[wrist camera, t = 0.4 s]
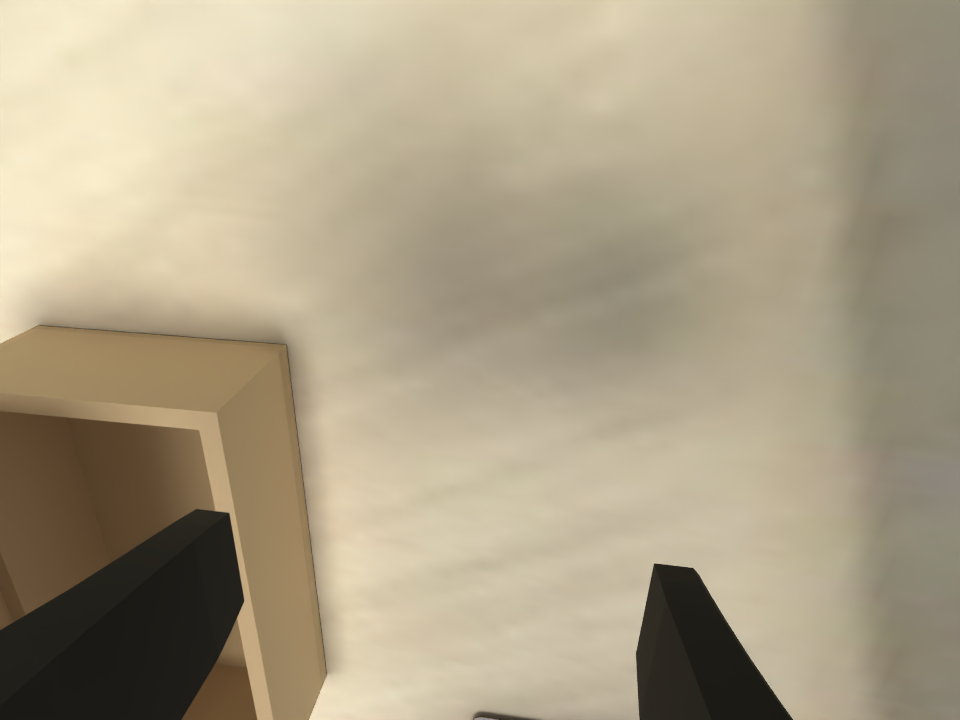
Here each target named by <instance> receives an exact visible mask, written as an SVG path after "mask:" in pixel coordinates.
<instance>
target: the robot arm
mask: <svg viewBox="0 0 960 720" xmlns="http://www.w3.org/2000/svg"><path fill="white" fill-rule="evenodd" d="M243 603H244V595H243V589H242V583H241V577H240V571H239V566H238V560H237V554H236V548H235V542H234V536H233V531H232V525H231V519H230V513H227V512H218V511H210V510H201V509H195V510H194V511H192V512H190V513H189V514H187V515H185V516H184V517H182V518H180V519H179V520H177V521H175V522H174V523H172V524H171V525H169V526H167V527H166V528H164V529H163V530H161V531H160V532H158V533H156V534H155V535H153V536H152V537H150V538H149V539H147V540H146V541H144V542H143V543H141V544H139V545H138V546H136V547H135V548H133V549H132V550H130V551H129V552H127V553H126V554H124V555H122V556H121V557H119V558H118V559H116V560H115V561H113V562H111V563H110V564H108V565H107V566H105V567H104V568H102V569H100V570H99V571H97V572H96V573H94V574H93V575H91V576H89V577H88V578H86V579H85V580H83V581H81V582H80V583H78V584H77V585H75V586H74V587H72V588H70V589H69V590H67V591H65V592H64V593H62V594H60V595H59V596H57V597H55V598H54V599H52V600H50V601H48V602H47V603H45V604H43V605H42V606H40V607H38V608H37V609H35V610H33V611H32V612H30V613H28V614H26V615H25V616H23V617H21V618H20V619H18V620H16V621H15V622H13V623H11V624H10V625H8V626H6V627H5V628H3V629H1V630H0V720H182V718H183V716H184V715H185V713H186V711H187V710H188V708H189V707H190V705H191V703H192V702H193V700H194V698H195V697H196V695H197V693H198V692H199V690H200V688H201V687H202V685H203V683H204V682H205V680H206V678H207V677H208V675H209V673H210V672H211V670H212V668H213V667H214V665H215V663H216V662H217V660H218V658H219V656H220V654H221V652H222V650H223V648H224V645H225V643H226V641H227V639H228V637H229V635H230V633H231V631H232V628H233V626H234V624H235V622H236V619H237V617H238V615H239V612H240V610H241V608H242V606H243ZM636 661H637V682H638V700H639V717H640V720H793V719H792V718H791V716H790V715H789V713H788V712H787V711H786V709H785V708H784V707H783V705H782V704H781V702H780V701H779V700H778V698H777V697H776V695H775V694H774V692H773V691H772V689H771V688H770V686H769V685H768V683H767V682H766V681H765V679H764V678H763V676H762V675H761V673H760V672H759V670H758V669H757V667H756V666H755V665H754V663H753V662H752V660H751V659H750V657H749V656H748V654H747V652H746V651H745V649H744V648H743V646H742V645H741V643H740V642H739V640H738V639H737V637H736V635H735V634H734V632H733V631H732V629H731V627H730V626H729V624H728V623H727V621H726V620H725V618H724V616H723V615H722V613H721V611H720V610H719V608H718V606H717V605H716V603H715V601H714V600H713V598H712V596H711V595H710V593H709V591H708V590H707V588H706V586H705V585H704V583H703V581H702V579H701V578H700V576H699V574H698V573H697V572H696V571H695V570H694V568H688V567H680V566H671V565H663V564H655V563H654V567H653V572H652V577H651V582H650V587H649V592H648V597H647V602H646V607H645V612H644V617H643V622H642V627H641V632H640V637H639V642H638V647H637V652H636ZM474 720H497V719H490V718H483V717H478V718H475V719H474Z"/></svg>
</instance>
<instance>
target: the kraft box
mask: <svg viewBox="0 0 960 720" xmlns="http://www.w3.org/2000/svg"><path fill="white" fill-rule="evenodd" d="M195 509H201V510H210V511H218V512H227V513H230V519H231V525H232V531H233V536H234V542H235V548H236V554H237V560H238V566H239V571H240V577H241V583H242V589H243V595H244V603H243V606H242V608H241V610H240V612H239V615H238V617H237V619H236V622H235V624H234V626H233V628H232V631H231V633H230V635H229V637H228V639H227V641H226V643H225V645H224V648H223V650H222V652H221V654H220V656H219V658H218V660H217V662H216V663H215V665H214V667H213V668H212V670H211V672H210V673H209V675H208V677H207V678H206V680H205V682H204V683H203V685H202V687H201V688H200V690H199V692H198V693H197V695H196V697H195V698H194V700H193V702H192V703H191V705H190V707H189V708H188V710H187V711H186V713H185V715H184V716H183V718H182V720H309V718H310V716H311V713H312V711H313V708H314V706H315V703H316V701H317V698H318V696H319V693H320V691H321V688H322V686H323V683H324V681H325V678H326V676H327V674H326V666H325V658H324V650H323V641H322V633H321V625H320V617H319V609H318V601H317V592H316V584H315V576H314V568H313V560H312V552H311V543H310V535H309V527H308V519H307V511H306V503H305V494H304V486H303V478H302V470H301V462H300V454H299V445H298V437H297V429H296V421H295V413H294V405H293V396H292V388H291V380H290V372H289V364H288V356H287V347H286V345H282V344H270V343H257V342H244V341H231V340H218V339H205V338H192V337H179V336H166V335H153V334H141V333H128V332H115V331H102V330H89V329H76V328H63V327H50V326H36V327H34V328H32V329H30V330H28V331H26V332H24V333H21V334H19V335H17V336H15V337H13V338H11V339H9V340H7V341H5V342H3V343H1V344H0V591H1V593H2V595H3V598H4V600H5V603H6V605H7V607H8V610H9V612H10V615H11V617H12V619H13V622H15V621H16V620H18V619H20V618H21V617H23V616H25V615H26V614H28V613H30V612H32V611H33V610H35V609H37V608H38V607H40V606H42V605H43V604H45V603H47V602H48V601H50V600H52V599H54V598H55V597H57V596H59V595H60V594H62V593H64V592H65V591H67V590H69V589H70V588H72V587H74V586H75V585H77V584H78V583H80V582H81V581H83V580H85V579H86V578H88V577H89V576H91V575H93V574H94V573H96V572H97V571H99V570H100V569H102V568H104V567H105V566H107V565H108V564H110V563H111V562H113V561H115V560H116V559H118V558H119V557H121V556H122V555H124V554H126V553H127V552H129V551H130V550H132V549H133V548H135V547H136V546H138V545H139V544H141V543H143V542H144V541H146V540H147V539H149V538H150V537H152V536H153V535H155V534H156V533H158V532H160V531H161V530H163V529H164V528H166V527H167V526H169V525H171V524H172V523H174V522H175V521H177V520H179V519H180V518H182V517H184V516H185V515H187V514H189V513H190V512H192V511H194V510H195Z"/></svg>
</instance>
